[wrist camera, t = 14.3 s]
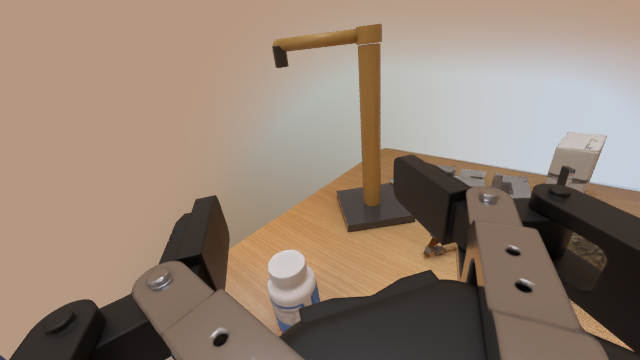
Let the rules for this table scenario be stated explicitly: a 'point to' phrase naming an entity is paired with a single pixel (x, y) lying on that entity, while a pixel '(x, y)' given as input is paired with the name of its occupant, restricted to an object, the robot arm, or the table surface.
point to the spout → (325, 41)
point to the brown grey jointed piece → (436, 249)
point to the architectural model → (505, 183)
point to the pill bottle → (290, 286)
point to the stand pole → (370, 121)
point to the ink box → (575, 160)
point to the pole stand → (372, 209)
